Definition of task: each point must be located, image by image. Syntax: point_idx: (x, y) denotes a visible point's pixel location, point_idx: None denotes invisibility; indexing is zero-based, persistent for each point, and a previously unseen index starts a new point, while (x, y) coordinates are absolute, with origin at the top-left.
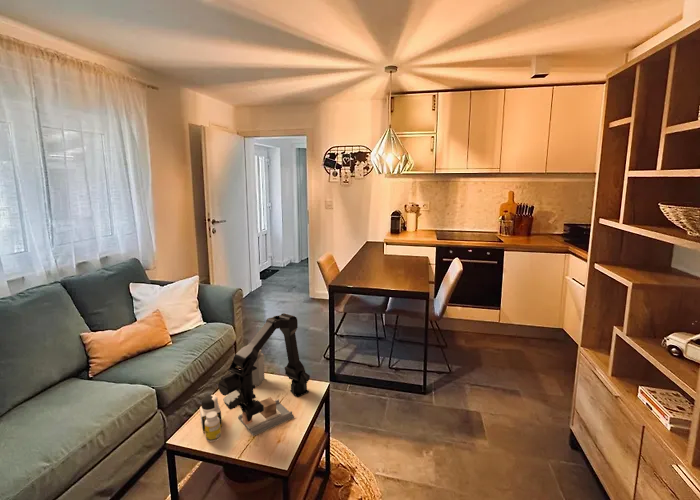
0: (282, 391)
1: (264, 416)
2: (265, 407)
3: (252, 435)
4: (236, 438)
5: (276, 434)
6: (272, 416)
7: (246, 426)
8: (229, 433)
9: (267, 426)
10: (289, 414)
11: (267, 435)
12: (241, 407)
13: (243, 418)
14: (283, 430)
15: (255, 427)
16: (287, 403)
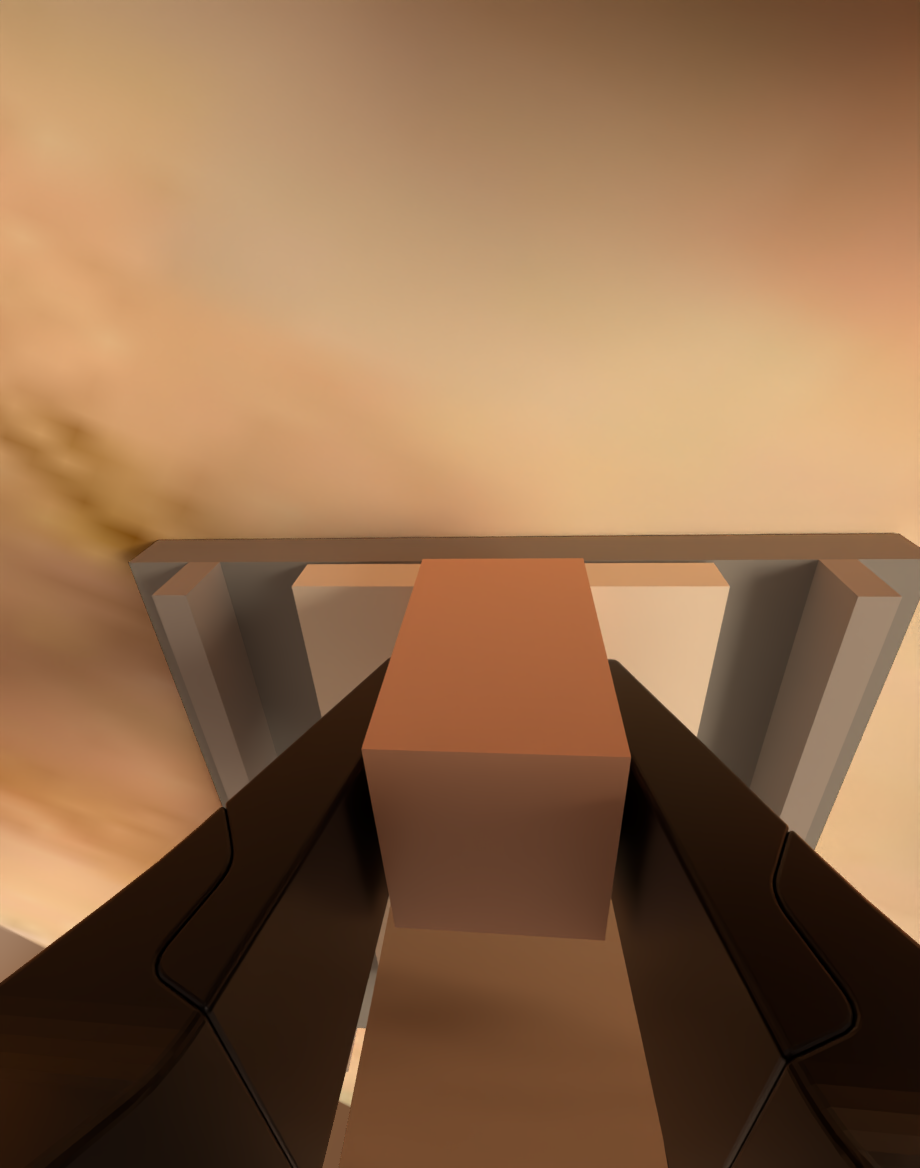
0: None
1: None
2: (346, 1158)
3: (186, 540)
4: (226, 208)
5: (86, 784)
6: (382, 933)
7: (443, 558)
8: (527, 100)
9: None
10: None
11: (103, 704)
12: (785, 1028)
13: (515, 631)
14: (137, 858)
15: (194, 677)
16: None
